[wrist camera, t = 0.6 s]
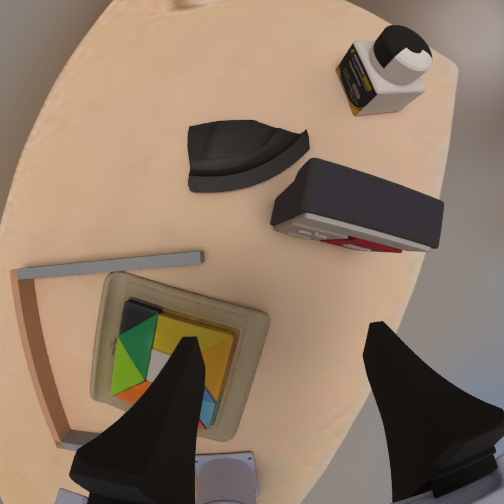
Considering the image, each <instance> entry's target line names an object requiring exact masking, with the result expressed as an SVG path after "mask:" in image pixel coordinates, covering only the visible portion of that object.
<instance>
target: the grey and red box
mask: <svg viewBox="0 0 504 504" xmlns="http://www.w3.org/2000/svg"><path fill="white" fill-rule="evenodd" d="M443 210H444V203H443V202H442V201H440V200H438V199H435V198H433V197H431V196H428V195H425V194H423V193H420V192H418V191H415V190H412V189H410V188H407V187H404V186H402V185H399V184H396V183H393V182H391V181H388V180H385V179H382V178H379V177H376V176H373V175H370V174H367V173H364V172H361V171H358V170H355V169H352V168H348V167H345V166H342V165H339V164H335V163H332V162H329V161H325V160H322V159H318V158H311V159H309V160H308V161H307V162H306V163H305V164H304V165H303V166H302V168H301V169H300V170H299V171H298V173H297V176H296V178H295V180H294V182H293V183H292V184H290V185H289V186H288V187H287V188H286V189H285V190H284V191H283V192H282V193H281V194H280V195H279V196H278V197H277V198H276V200H275V204H274V209H273V213H272V218H271V223H270V224H271V225H274V226H275V229H274V230H275V231H278V232H283V233H287V234H289V235H293V236H297V237H302V238H306V239H310V240H311V239H313V240H321V242H325V243H329V244H333V245H337V246H342V247H346V248H350V249H354V250H359V251H370V252H371V251H376V252H393V253H402V250H405V251H420V252H430V250H431V248H435V249H436V248H438V246H439V240H440V234H441V227H442V218H443Z"/></svg>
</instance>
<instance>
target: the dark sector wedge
mask: <svg viewBox="0 0 504 504" xmlns="http://www.w3.org/2000/svg"><path fill="white" fill-rule="evenodd" d="M309 149H310V146H309V136H308V133H307V130H305V131H304V132H302V133H301V134H297V133H293V132H290V131H286V130H284V129H281V128H274V127H271V126H268V125H266V124H263V123H260V122H257V121H255V120H227V121H216V122H210V123H204V124H200V125H195V126H190V127H189V130H188V154H189V162H190V173H189V179H188V185H189V188H190V191H193V192H221V191H230V190H236V189H240V188H245V187H248V186H252V185H255V184H258V183H260V182H263V181H265V180H267V179H269V178H271V177H273V176H275V175H277V174H279V173H280V172H282V171H283V170H285V169H286V168H288V167H289V166H291V165H292V164H294V163H295V162H296V161H297V160H298V159H300V158H301V157H302V156H303V155H304V154H305V153H306V152H307V151H308V150H309Z"/></svg>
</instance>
